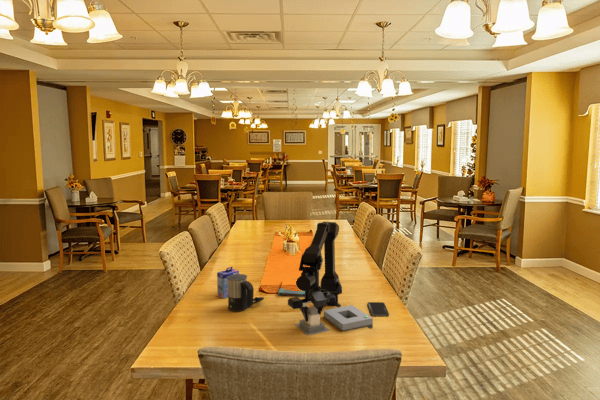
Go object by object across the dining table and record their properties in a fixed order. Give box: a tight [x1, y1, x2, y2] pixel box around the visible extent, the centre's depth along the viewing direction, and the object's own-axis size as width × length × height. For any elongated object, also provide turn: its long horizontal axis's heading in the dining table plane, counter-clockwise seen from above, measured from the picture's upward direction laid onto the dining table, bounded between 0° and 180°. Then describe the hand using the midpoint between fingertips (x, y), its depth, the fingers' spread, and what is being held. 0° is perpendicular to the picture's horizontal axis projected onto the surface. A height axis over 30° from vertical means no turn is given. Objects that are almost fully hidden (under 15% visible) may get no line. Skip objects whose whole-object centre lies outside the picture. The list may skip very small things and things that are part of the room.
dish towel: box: [277, 287, 305, 298], centre depth 231 cm, size 17×23×2 cm
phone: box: [367, 301, 390, 318], centre depth 202 cm, size 8×1×15 cm
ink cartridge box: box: [216, 266, 240, 300], centre depth 222 cm, size 10×6×14 cm, turn 137°
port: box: [323, 304, 374, 332], centre depth 188 cm, size 16×14×4 cm
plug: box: [303, 305, 321, 327], centre depth 181 cm, size 6×4×8 cm, turn 25°
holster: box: [294, 318, 330, 336], centre depth 182 cm, size 12×10×3 cm
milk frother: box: [227, 273, 265, 312], centre depth 207 cm, size 14×16×15 cm
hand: (312, 320), depth 182 cm, fingers open, 5 cm apart
